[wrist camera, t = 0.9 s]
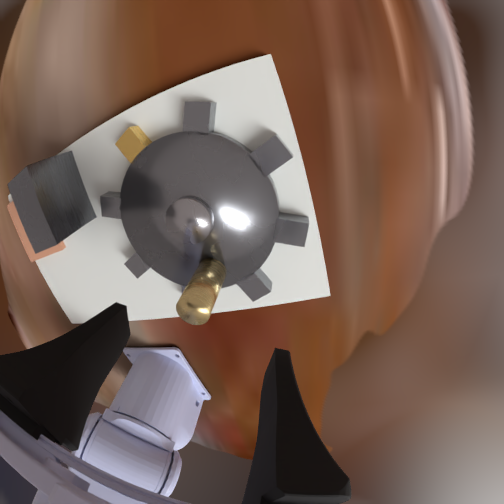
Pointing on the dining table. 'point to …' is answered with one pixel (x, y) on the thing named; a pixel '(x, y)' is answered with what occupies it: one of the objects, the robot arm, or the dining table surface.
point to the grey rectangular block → (51, 200)
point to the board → (110, 179)
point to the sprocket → (202, 210)
